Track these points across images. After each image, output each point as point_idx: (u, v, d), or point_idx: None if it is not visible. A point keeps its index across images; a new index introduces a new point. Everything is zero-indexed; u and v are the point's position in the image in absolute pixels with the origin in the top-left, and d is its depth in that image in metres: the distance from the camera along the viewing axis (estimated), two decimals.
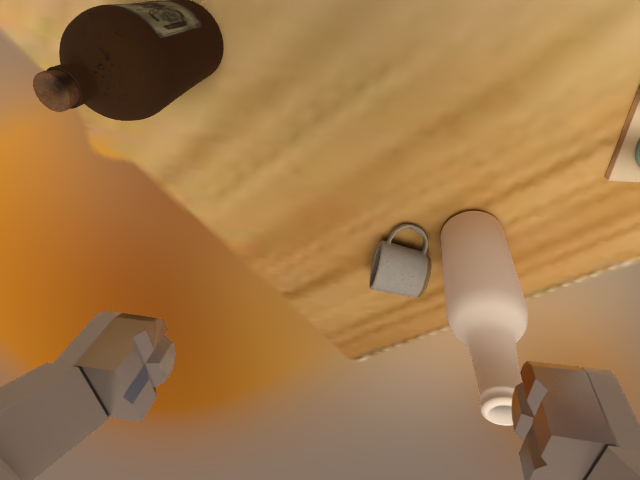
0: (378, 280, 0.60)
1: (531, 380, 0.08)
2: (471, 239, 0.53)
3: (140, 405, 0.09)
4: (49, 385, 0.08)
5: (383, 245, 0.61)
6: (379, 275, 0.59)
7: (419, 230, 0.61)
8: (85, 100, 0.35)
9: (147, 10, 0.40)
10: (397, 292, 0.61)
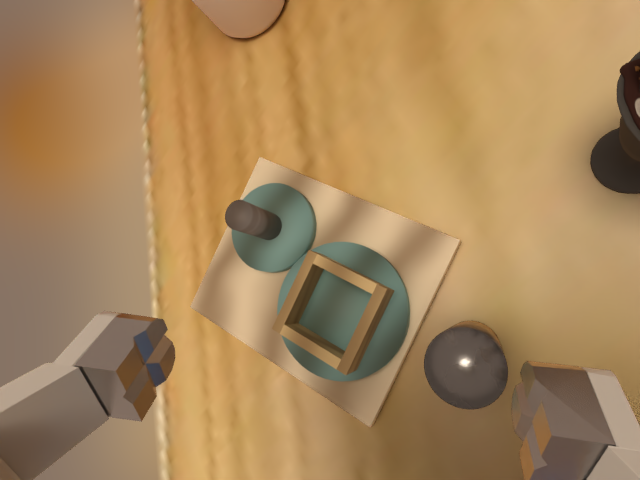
0: None
1: (531, 380, 0.08)
2: None
3: (140, 405, 0.09)
4: (49, 385, 0.08)
5: None
6: None
7: None
8: None
9: None
10: None
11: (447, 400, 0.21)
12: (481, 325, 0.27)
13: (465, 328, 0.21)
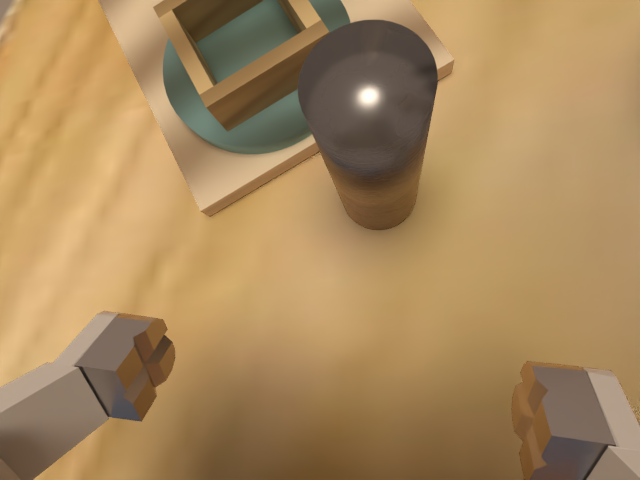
0: None
1: (531, 380, 0.08)
2: None
3: (140, 405, 0.09)
4: (49, 386, 0.08)
5: None
6: None
7: None
8: None
9: None
10: None
11: (308, 114, 0.12)
12: None
13: (406, 29, 0.12)
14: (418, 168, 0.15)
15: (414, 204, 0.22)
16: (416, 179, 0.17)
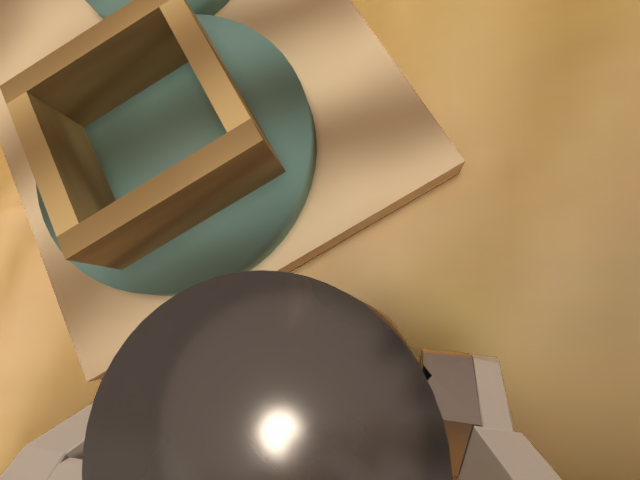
0: None
1: (421, 366, 0.08)
2: None
3: None
4: None
5: None
6: None
7: None
8: None
9: None
10: None
11: None
12: None
13: (366, 311, 0.04)
14: None
15: None
16: None
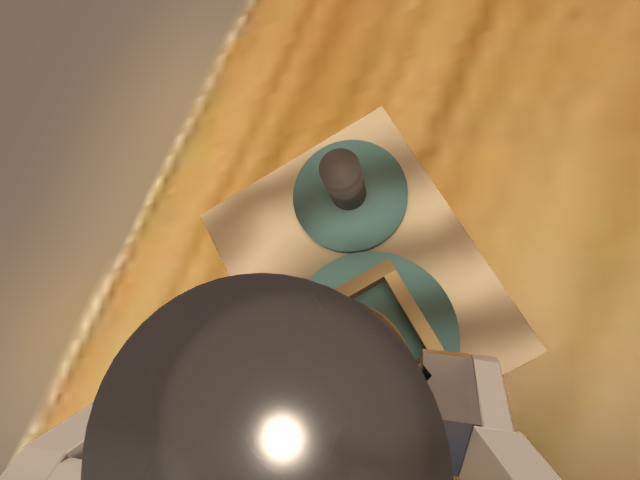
0: None
1: (422, 366, 0.08)
2: None
3: None
4: None
5: None
6: None
7: None
8: None
9: None
10: None
11: None
12: None
13: (366, 314, 0.04)
14: None
15: None
16: None
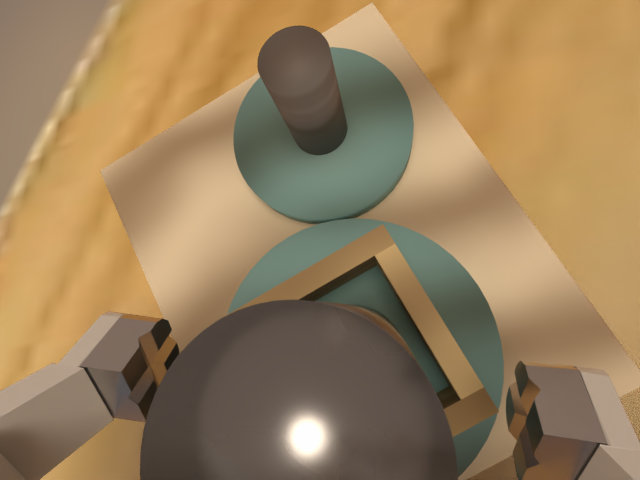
0: None
1: (524, 379, 0.08)
2: None
3: (145, 406, 0.09)
4: (55, 386, 0.08)
5: None
6: None
7: None
8: None
9: None
10: None
11: None
12: None
13: (384, 336, 0.05)
14: None
15: None
16: None
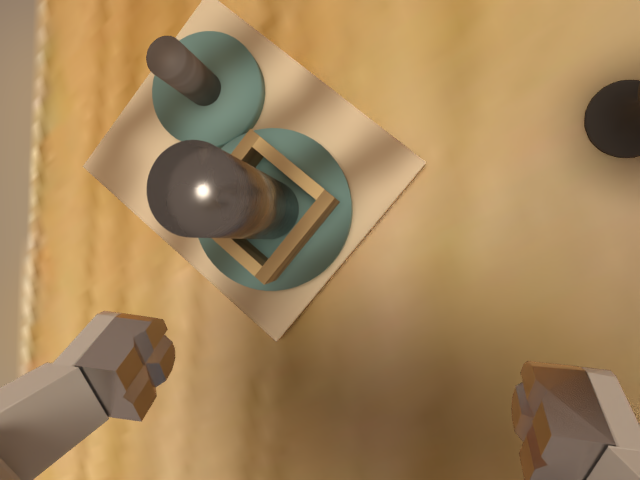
0: None
1: (531, 380, 0.08)
2: None
3: (140, 405, 0.09)
4: (49, 386, 0.08)
5: None
6: None
7: None
8: None
9: None
10: None
11: (162, 223, 0.17)
12: (269, 176, 0.23)
13: (204, 142, 0.17)
14: (269, 206, 0.21)
15: (298, 208, 0.27)
16: (276, 208, 0.22)
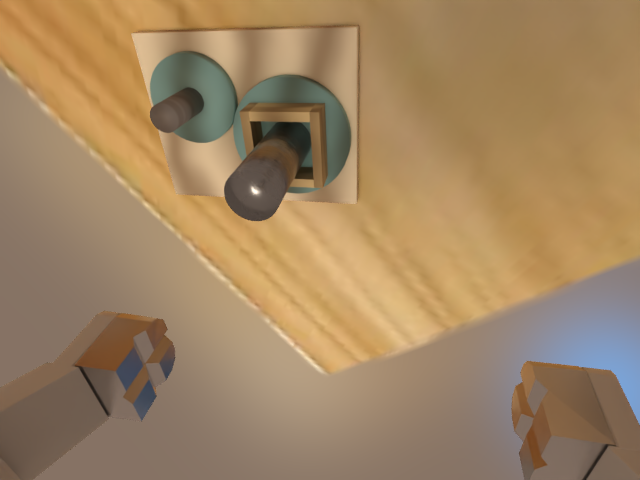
0: None
1: (531, 380, 0.08)
2: None
3: (140, 405, 0.09)
4: (50, 385, 0.08)
5: None
6: None
7: None
8: None
9: None
10: None
11: (254, 219, 0.30)
12: (274, 134, 0.33)
13: (236, 172, 0.28)
14: (289, 159, 0.31)
15: None
16: (294, 153, 0.32)
